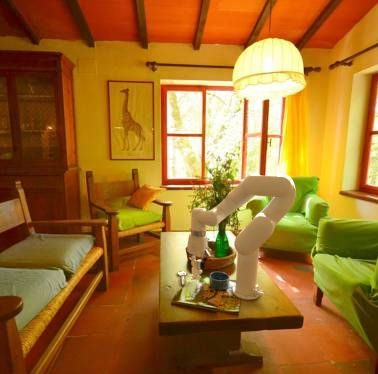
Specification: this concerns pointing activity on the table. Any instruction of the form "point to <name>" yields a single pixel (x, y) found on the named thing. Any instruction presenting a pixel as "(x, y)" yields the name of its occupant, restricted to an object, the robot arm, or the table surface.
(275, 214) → the robot arm
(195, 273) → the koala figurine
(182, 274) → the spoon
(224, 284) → the bowl
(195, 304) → the table surface
